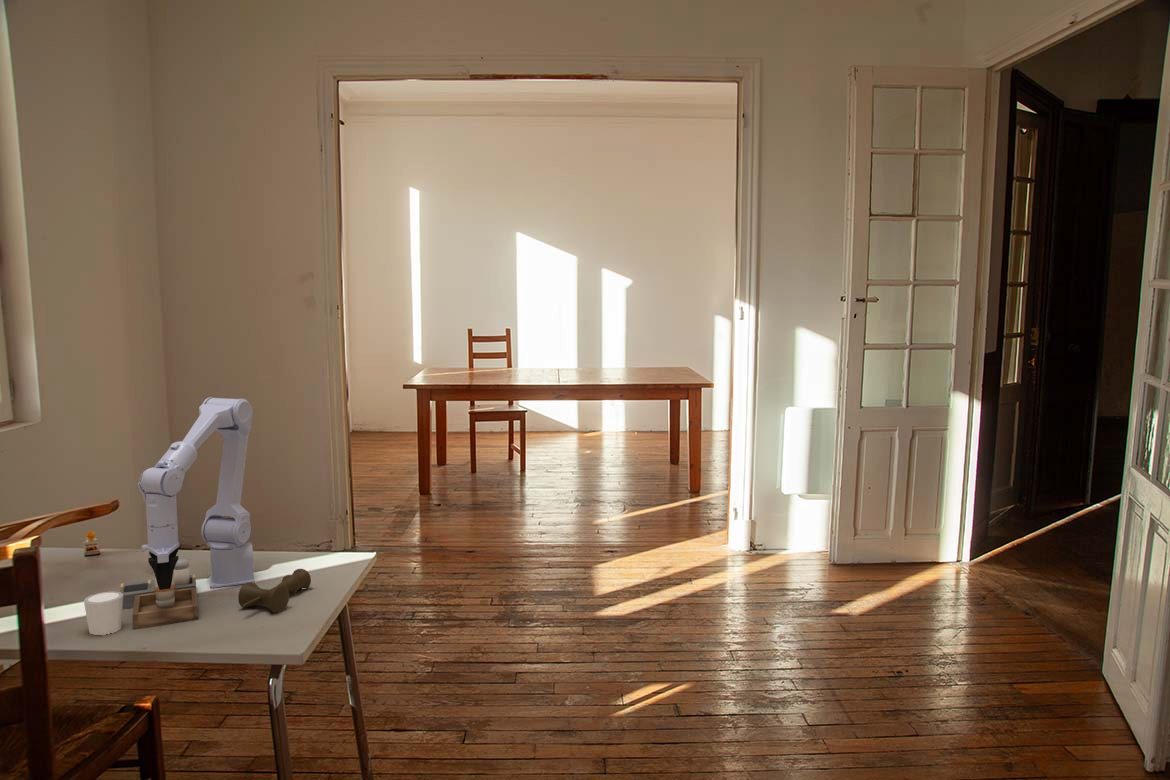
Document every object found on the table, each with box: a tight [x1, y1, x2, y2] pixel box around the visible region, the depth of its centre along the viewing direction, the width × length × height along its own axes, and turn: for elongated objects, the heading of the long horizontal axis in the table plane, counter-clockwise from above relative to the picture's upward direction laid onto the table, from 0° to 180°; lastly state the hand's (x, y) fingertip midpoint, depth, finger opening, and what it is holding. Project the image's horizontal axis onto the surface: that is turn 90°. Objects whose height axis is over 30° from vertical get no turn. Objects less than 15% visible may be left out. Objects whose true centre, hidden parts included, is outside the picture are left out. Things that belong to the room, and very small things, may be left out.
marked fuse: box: [154, 571, 175, 608], centre depth 171 cm, size 4×4×8 cm
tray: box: [132, 586, 199, 630], centre depth 172 cm, size 12×12×3 cm
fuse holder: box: [119, 573, 197, 610], centre depth 181 cm, size 15×8×4 cm, turn 117°
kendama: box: [237, 568, 312, 614], centre depth 179 cm, size 6×10×20 cm
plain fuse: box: [174, 557, 191, 586], centre depth 182 cm, size 4×4×8 cm
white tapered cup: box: [83, 591, 123, 636], centre depth 163 cm, size 7×7×7 cm
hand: (165, 585), depth 171 cm, fingers closed on marked fuse, 4 cm apart
